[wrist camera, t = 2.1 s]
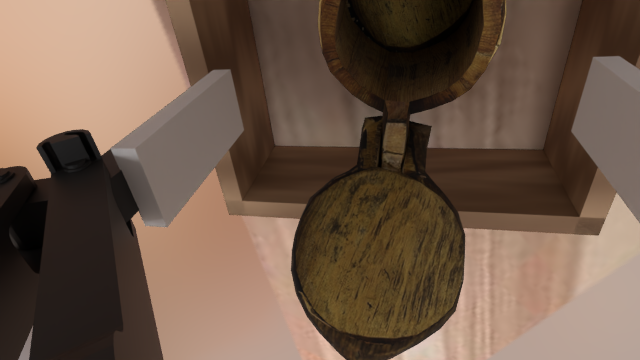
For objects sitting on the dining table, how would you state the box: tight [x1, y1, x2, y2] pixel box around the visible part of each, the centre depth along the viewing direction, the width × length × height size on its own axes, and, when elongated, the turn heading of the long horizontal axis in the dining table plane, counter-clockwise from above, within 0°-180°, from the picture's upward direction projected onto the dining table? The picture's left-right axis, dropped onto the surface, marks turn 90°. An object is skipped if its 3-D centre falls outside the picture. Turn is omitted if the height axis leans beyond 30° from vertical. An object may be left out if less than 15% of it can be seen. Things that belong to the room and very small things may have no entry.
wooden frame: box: [165, 0, 640, 235], centre depth 20 cm, size 19×21×7 cm
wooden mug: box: [291, 0, 506, 360], centre depth 16 cm, size 9×14×18 cm, turn 178°
